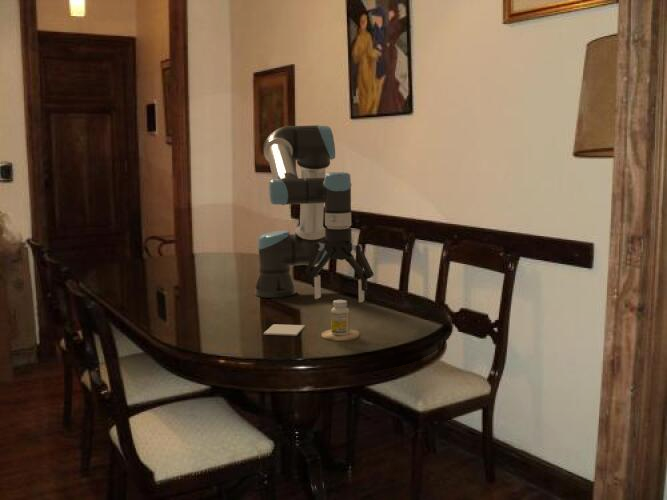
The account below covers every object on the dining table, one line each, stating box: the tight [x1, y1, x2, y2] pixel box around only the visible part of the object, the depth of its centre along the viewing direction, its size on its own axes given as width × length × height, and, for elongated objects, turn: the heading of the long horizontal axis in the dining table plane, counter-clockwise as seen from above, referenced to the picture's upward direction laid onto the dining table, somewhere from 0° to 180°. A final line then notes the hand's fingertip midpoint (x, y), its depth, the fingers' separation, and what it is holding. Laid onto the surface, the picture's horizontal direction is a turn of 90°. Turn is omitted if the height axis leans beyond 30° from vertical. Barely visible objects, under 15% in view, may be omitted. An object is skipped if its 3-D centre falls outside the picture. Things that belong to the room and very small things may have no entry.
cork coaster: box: [321, 328, 360, 342], centre depth 202 cm, size 11×11×1 cm
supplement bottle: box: [330, 299, 350, 335], centre depth 201 cm, size 5×5×10 cm
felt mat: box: [263, 323, 306, 337], centre depth 208 cm, size 10×10×1 cm
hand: (339, 299), depth 200 cm, fingers open, 13 cm apart
